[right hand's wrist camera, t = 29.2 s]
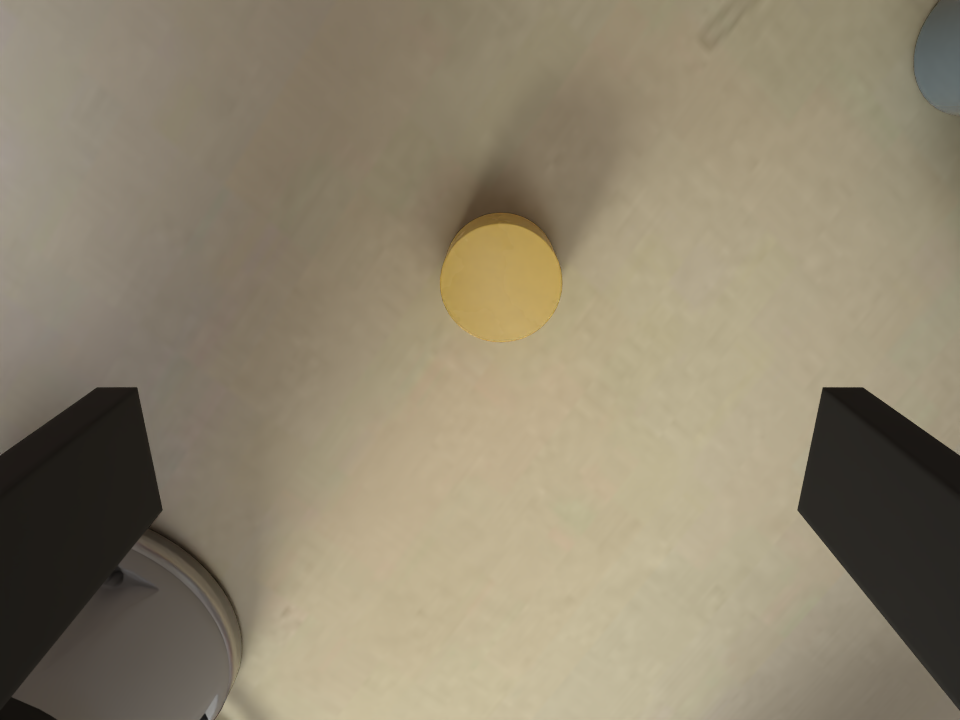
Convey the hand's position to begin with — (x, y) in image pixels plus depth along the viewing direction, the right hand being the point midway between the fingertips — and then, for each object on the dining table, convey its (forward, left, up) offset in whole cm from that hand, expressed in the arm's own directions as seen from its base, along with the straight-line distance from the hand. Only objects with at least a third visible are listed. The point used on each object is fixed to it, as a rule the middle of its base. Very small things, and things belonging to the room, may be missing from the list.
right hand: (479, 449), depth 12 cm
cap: (0, 0, -15) cm, 15 cm away
